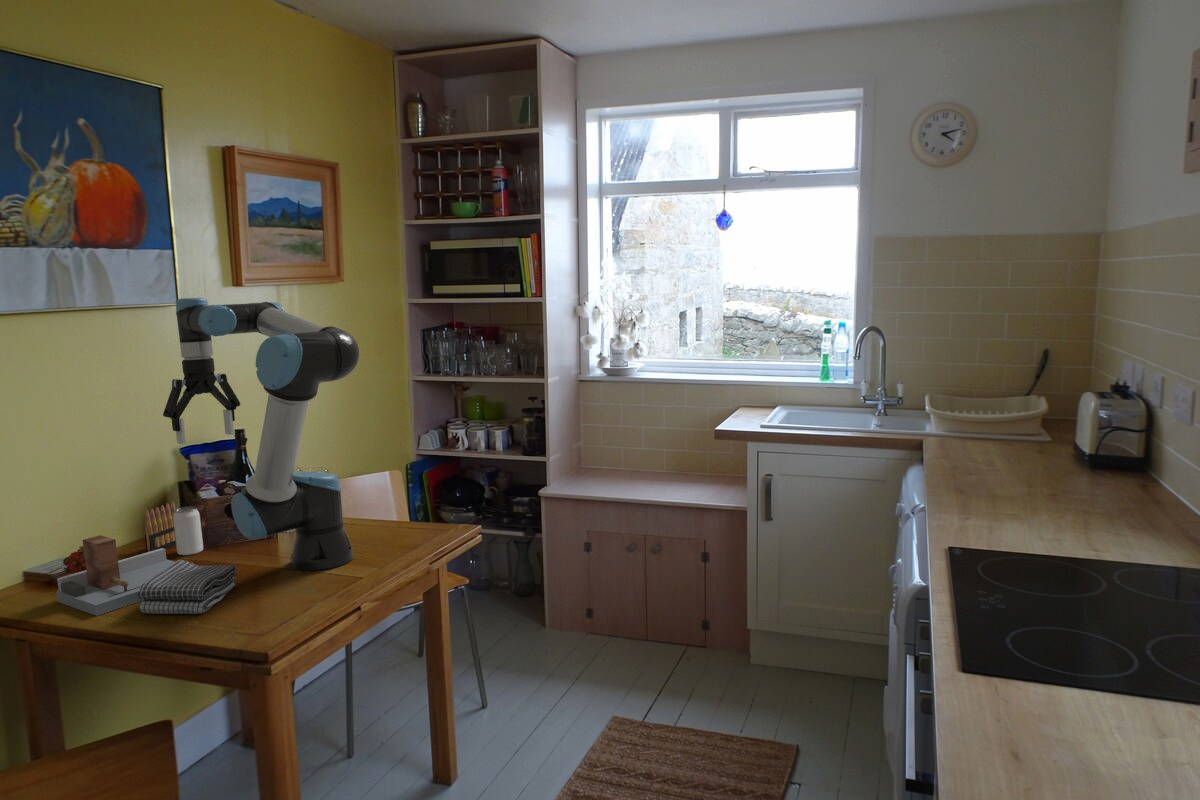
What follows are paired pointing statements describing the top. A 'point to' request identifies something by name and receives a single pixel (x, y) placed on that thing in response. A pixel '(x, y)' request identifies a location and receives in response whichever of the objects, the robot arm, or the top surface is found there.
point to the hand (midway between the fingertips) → (206, 438)
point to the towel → (186, 588)
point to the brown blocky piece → (102, 563)
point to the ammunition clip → (160, 528)
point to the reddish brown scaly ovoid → (75, 562)
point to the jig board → (103, 601)
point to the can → (187, 531)
